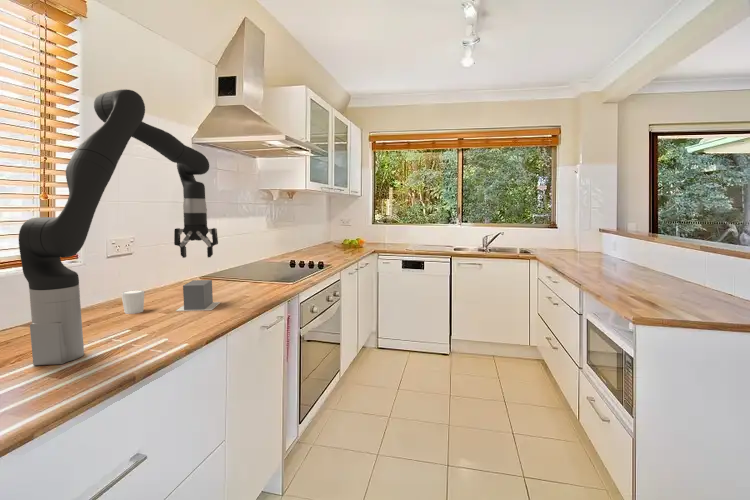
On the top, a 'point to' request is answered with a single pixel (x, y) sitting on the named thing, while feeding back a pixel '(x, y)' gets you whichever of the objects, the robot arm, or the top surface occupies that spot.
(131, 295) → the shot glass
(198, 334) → the top surface
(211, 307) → the white square plate
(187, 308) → the grey rectangular block
